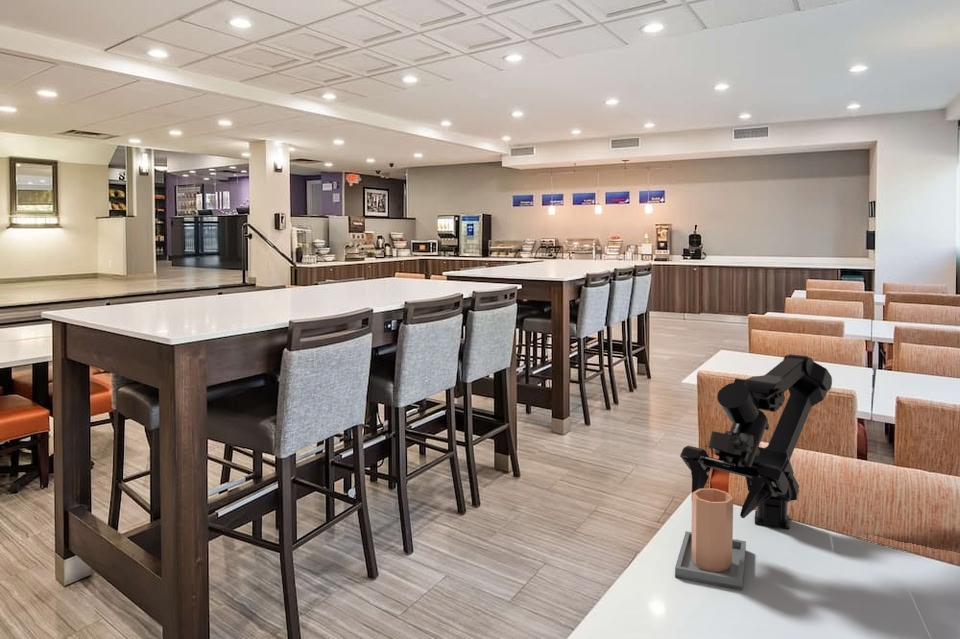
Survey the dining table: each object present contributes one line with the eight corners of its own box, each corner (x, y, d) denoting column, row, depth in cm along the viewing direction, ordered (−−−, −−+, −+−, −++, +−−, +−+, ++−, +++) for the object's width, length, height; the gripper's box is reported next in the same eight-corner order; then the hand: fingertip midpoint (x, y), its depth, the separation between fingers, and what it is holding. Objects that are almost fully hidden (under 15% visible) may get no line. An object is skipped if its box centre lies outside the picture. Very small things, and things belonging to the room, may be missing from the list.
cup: (703, 551, 115) (704, 485, 114) (736, 563, 111) (738, 495, 109) (686, 563, 111) (686, 495, 110) (720, 577, 106) (721, 506, 105)
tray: (685, 539, 121) (685, 531, 121) (745, 550, 117) (745, 541, 116) (675, 577, 108) (675, 567, 108) (742, 590, 103) (742, 580, 103)
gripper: (685, 405, 119) (654, 475, 113) (784, 423, 106) (755, 504, 100) (704, 434, 126) (676, 502, 120) (800, 455, 112) (774, 533, 106)
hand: (716, 509), depth 111 cm, fingers open, 9 cm apart
